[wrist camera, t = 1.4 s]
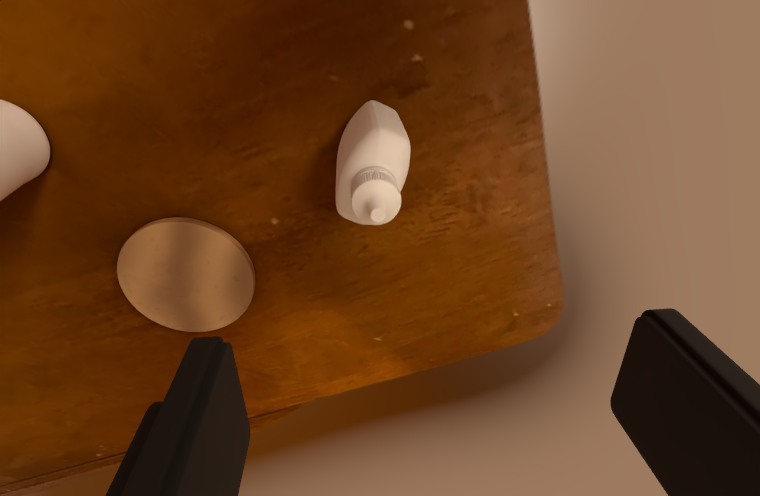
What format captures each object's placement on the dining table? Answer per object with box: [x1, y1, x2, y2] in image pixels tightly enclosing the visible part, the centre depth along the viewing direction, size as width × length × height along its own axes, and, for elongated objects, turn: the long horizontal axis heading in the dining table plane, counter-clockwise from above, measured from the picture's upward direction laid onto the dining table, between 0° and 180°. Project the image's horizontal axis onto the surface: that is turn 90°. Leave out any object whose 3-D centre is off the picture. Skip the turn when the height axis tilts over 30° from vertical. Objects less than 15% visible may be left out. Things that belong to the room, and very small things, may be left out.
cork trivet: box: [117, 217, 256, 332], centre depth 34 cm, size 10×10×1 cm
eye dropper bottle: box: [336, 100, 410, 225], centre depth 25 cm, size 4×6×12 cm
